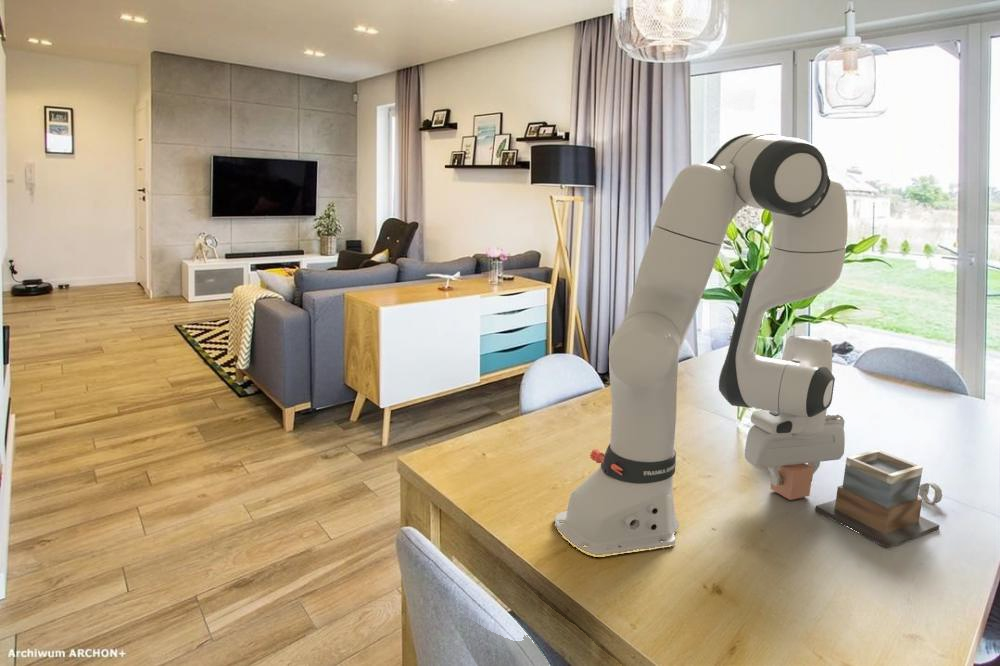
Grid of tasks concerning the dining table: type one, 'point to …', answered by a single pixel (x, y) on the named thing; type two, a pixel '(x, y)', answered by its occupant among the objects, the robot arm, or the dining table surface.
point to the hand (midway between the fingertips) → (791, 482)
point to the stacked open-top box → (880, 499)
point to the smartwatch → (925, 489)
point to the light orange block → (794, 481)
